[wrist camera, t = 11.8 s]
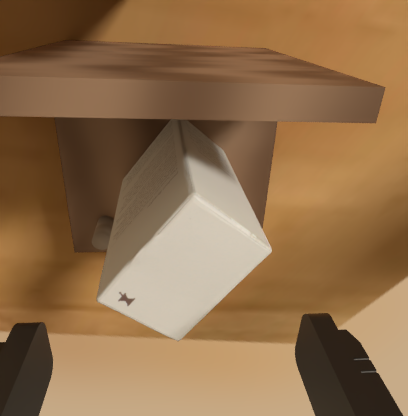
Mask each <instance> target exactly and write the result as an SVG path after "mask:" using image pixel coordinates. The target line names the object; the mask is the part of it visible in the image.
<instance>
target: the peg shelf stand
mask: <svg viewBox="0 0 408 416" xmlns="http://www.w3.org/2000/svg"><path fill="white" fill-rule="evenodd" d="M384 91H385V87H383V86H380V85H377V84H373V83H370V82H367V81H364V80H361V79H358V78H355V77H352V76H349V75H346V74H343V73H340V72H337V71H334V70H331V69H328V68H324V67H321V66H318V65H315V64H312V63H309V62H306V61H303V60H300V59H297V58H294V57H291V56H288V55H285V54H282V53H279V52H275V51H272V50H269V49H266V48H244V47H220V46H196V45H171V44H147V43H123V42H98V41H74V40H64V41H60V42H56V43H52V44H48V45H44V46H40V47H36V48H32V49H28V50H25V51H21V52H17V53H13V54H9V55H5V56H1V57H0V116H22V117H55V124H56V131H57V137H58V144H59V151H60V157H61V164H62V171H63V178H64V184H65V191H66V198H67V204H68V211H69V218H70V224H71V231H72V238H73V244H74V251H75V252H107V249H108V244H109V240H110V235H111V231H112V226H113V222H114V217H115V213H116V208H117V203H118V199H119V194H120V190H121V186H122V181H123V179H124V177H125V176H126V175H127V174H128V173H129V171H130V170H131V169H132V167H133V166H134V165H135V164H136V162H137V161H138V160H139V159H140V157H141V156H142V155H143V154H144V152H145V151H146V150H147V149H148V147H149V146H150V145H151V144H152V142H153V141H154V140H155V139H156V137H157V136H158V135H159V134H160V132H161V131H162V130H163V129H164V127H165V126H166V125H167V124H168V122H169V121H170V120H171V119H180V120H187V121H189V122H190V123H191V124H192V125H194V126H195V127H196V128H197V129H198V130H200V131H201V132H202V133H203V134H204V135H206V136H207V137H208V138H209V139H210V140H211V141H213V142H214V143H215V144H216V145H218V146H219V147H220V148H221V149H222V150H224V152H225V154H226V156H227V158H228V160H229V162H230V164H231V167H232V169H233V171H234V173H235V175H236V177H237V179H238V181H239V183H240V185H241V187H242V189H243V191H244V193H245V195H246V197H247V199H248V201H249V203H250V205H251V207H252V210H253V211H254V213H255V216H256V218H257V220H258V222H259V224H260V226H261V228H263V221H264V214H265V207H266V200H267V192H268V185H269V178H270V171H271V164H272V157H273V149H274V142H275V135H276V128H277V121H285V122H338V123H376V121H377V117H378V113H379V110H380V106H381V102H382V98H383V95H384Z"/></svg>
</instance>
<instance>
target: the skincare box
mask: <svg viewBox="0 0 408 416" xmlns="http://www.w3.org/2000/svg"><path fill="white" fill-rule="evenodd" d="M271 252H272V249H271V246H270V244H269V242H268V240H267V238H266V236H265V234H264V232H263V230H262V228H261V226H260V224H259V222H258V220H257V218H256V216H255V213H254V211H253V210H252V207H251V205H250V203H249V201H248V199H247V197H246V195H245V193H244V191H243V189H242V187H241V185H240V183H239V181H238V179H237V177H236V175H235V173H234V171H233V169H232V167H231V164H230V162H229V160H228V158H227V156H226V154H225V152H224V150H222V149H221V148H220V147H219V146H218V145H216V144H215V143H214V142H213V141H211V140H210V139H209V138H208V137H207V136H206V135H204V134H203V133H202V132H201V131H200V130H198V129H197V128H196V127H195V126H194V125H192V124H191V123H190V122H189V121H187V120H180V119H171V120H170V121H169V122H168V124H167V125H166V126H165V127H164V129H163V130H162V131H161V132H160V134H159V135H158V136H157V137H156V139H155V140H154V141H153V142H152V144H151V145H150V146H149V147H148V149H147V150H146V151H145V152H144V154H143V155H142V156H141V157H140V159H139V160H138V161H137V162H136V164H135V165H134V166H133V167H132V169H131V170H130V171H129V173H128V174H127V175H126V176H125V177H124V179H123V181H122V186H121V190H120V194H119V199H118V203H117V208H116V213H115V217H114V222H113V226H112V231H111V235H110V240H109V244H108V249H107V253H106V258H105V262H104V266H103V270H102V274H101V279H100V284H99V289H98V294H97V301H98V302H99V303H101V304H103V305H105V306H107V307H109V308H111V309H113V310H115V311H118V312H120V313H122V314H124V315H126V316H128V317H130V318H132V319H134V320H136V321H137V322H139V323H141V324H143V325H145V326H147V327H149V328H151V329H153V330H155V331H157V332H159V333H161V334H163V335H165V336H167V337H170V338H172V339H174V340H177V341H179V340H181V339H182V338H183V337H184V336H185V335H186V334H187V333H188V332H189V331H190V330H191V329H192V328H193V327H194V326H195V325H196V324H197V323H198V322H199V321H201V320H202V319H203V318H204V317H205V316H206V315H207V314H208V313H209V312H210V311H211V310H212V309H213V308H214V307H215V306H216V305H217V304H218V303H219V302H220V301H221V300H222V299H223V298H224V297H225V296H226V295H227V294H228V293H229V292H230V291H231V290H232V289H233V288H234V287H235V286H236V285H237V284H239V283H240V282H241V281H242V280H243V279H244V278H245V277H246V276H247V275H248V274H249V273H250V272H251V271H252V270H253V269H254V268H255V267H256V266H257V265H258V264H259V263H260V262H261V261H263V260H264V259H265V258H266V257H267V256H268V255H269V254H270V253H271Z"/></svg>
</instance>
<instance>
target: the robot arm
mask: <svg viewBox="0 0 408 416" xmlns="http://www.w3.org/2000/svg"><path fill="white" fill-rule="evenodd" d="M295 357H296V363H297V366H298V370H299V372H300V375H301V378H302V381H303V383H304V386H305V389H306V391H307V394H308V397H309V400H310V402H311V405H312V408H313V410H314V413H315V416H403V415H402V413H401V411H400V410H399V408H398V406H397V404H396V403H395V401H394V399H393V398H392V396H391V394H390V392H389V391H388V389H387V387H386V386H385V384H384V382H383V381H382V379H381V377H380V375H379V374H378V373H376V369H375V367H374V365H373V364H372V362H371V361H370V360H369V357H368V355H367V353H366V352H365V350H364V348H363V347H362V345H361V343H360V342H359V341H358V340H357V339H356V338H355V337H354V336H353V335H351V334H350V333H349V332H348V331H347V330H338V329H337V327H336V325H335V323H334V321H333V319H332V318H331V316H330V315H329V314H328V313H319V314H304V315H303V317H302V320H301V324H300V329H299V333H298V338H297V342H296V347H295ZM52 369H53V357H52V352H51V348H50V343H49V339H48V334H47V330H46V326H45V324H44V323H43V322H37V323H17V324H15V325H14V326H13V328H12V330H11V332H10V334H9V336H8V338H7V340H6V342H0V416H39V413H40V410H41V406H42V404H43V401H44V397H45V394H46V391H47V388H48V385H49V382H50V379H51V375H52Z"/></svg>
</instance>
